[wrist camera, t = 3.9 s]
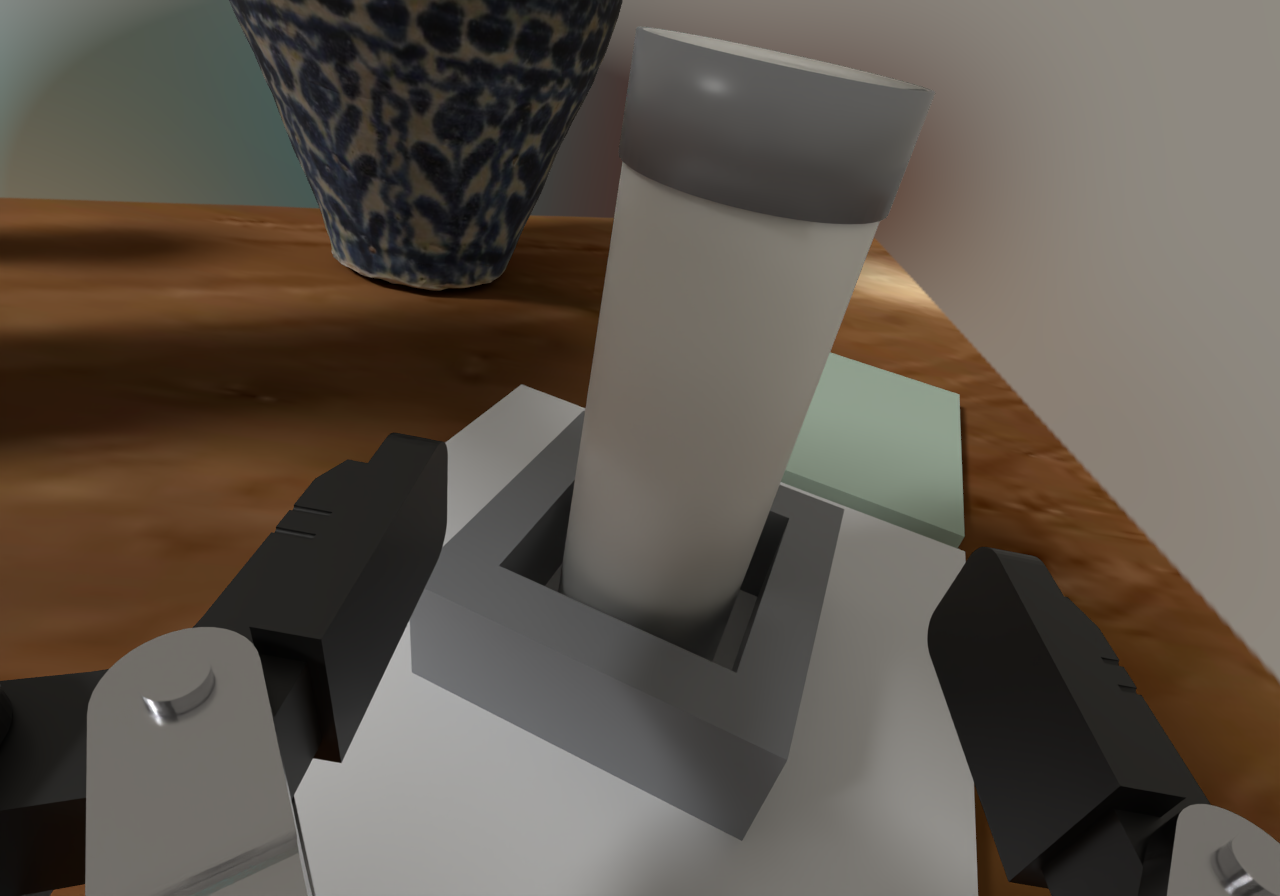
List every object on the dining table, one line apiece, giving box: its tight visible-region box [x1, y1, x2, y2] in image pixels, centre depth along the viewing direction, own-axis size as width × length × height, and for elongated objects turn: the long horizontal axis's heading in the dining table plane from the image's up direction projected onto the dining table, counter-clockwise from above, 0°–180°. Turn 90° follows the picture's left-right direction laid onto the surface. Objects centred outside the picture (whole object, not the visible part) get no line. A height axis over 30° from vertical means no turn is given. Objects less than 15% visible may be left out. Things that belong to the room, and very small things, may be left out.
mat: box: [781, 353, 965, 548], centre depth 34 cm, size 14×14×1 cm
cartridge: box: [558, 27, 935, 662], centre depth 16 cm, size 5×5×15 cm
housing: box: [294, 384, 978, 896], centre depth 19 cm, size 20×20×4 cm
